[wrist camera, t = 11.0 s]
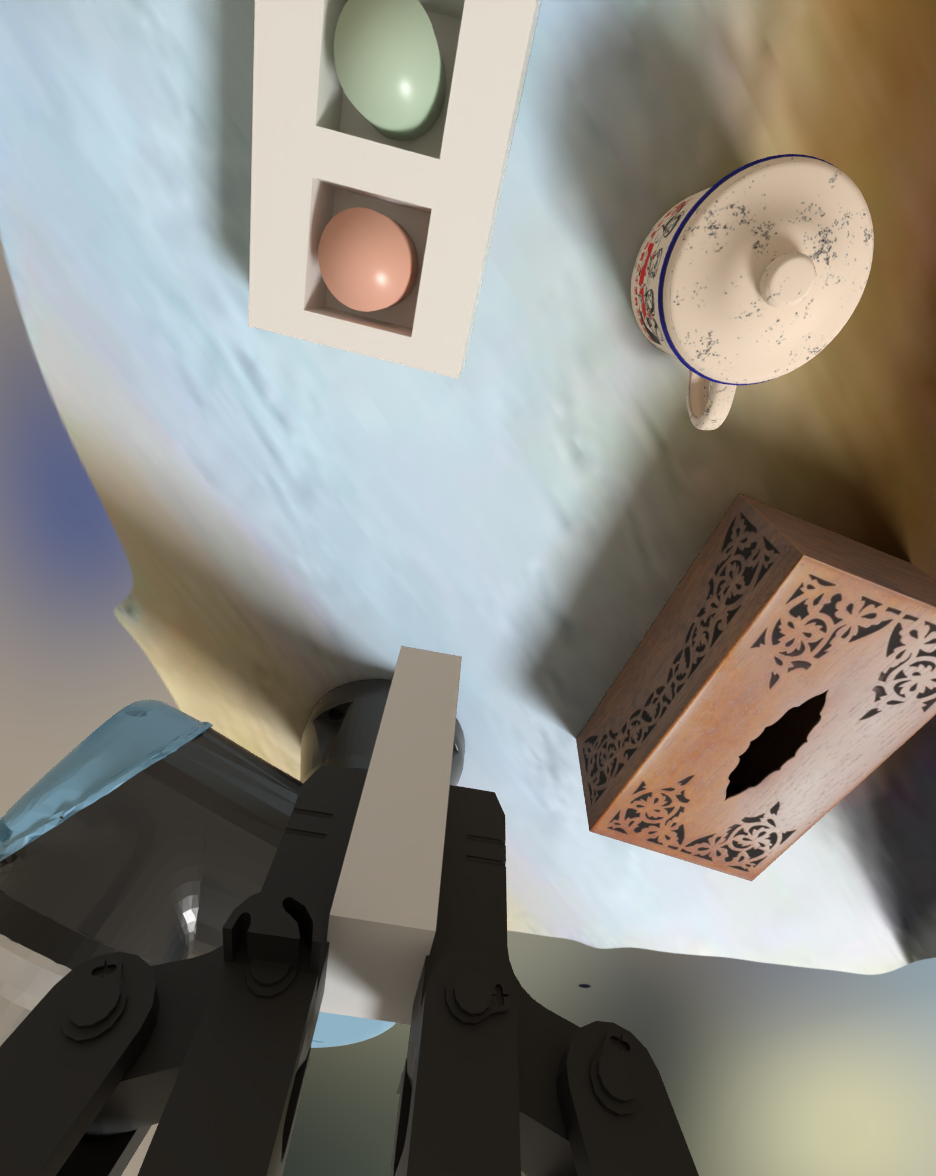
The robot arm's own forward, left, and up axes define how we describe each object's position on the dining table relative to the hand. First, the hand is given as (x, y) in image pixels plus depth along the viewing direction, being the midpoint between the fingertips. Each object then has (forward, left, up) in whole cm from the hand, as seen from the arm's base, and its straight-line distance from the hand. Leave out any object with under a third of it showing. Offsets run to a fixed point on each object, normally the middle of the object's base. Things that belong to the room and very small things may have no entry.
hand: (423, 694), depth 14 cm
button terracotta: (+8, +8, -26) cm, 28 cm away
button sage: (+16, +8, -26) cm, 31 cm away
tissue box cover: (-14, -24, -28) cm, 39 cm away
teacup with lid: (+10, -11, -27) cm, 31 cm away
